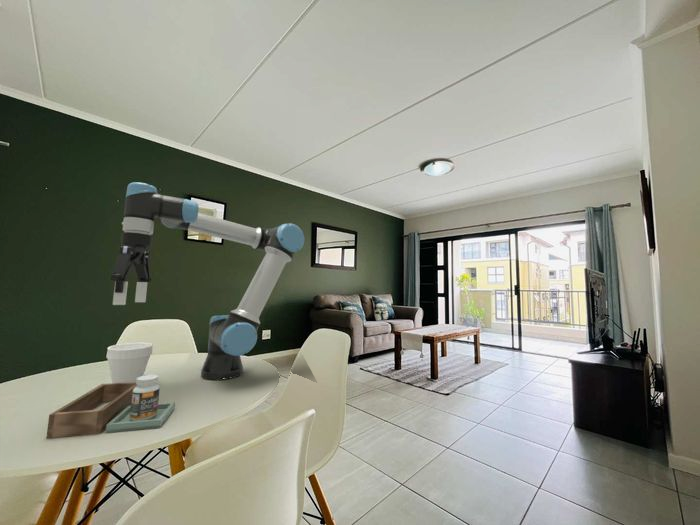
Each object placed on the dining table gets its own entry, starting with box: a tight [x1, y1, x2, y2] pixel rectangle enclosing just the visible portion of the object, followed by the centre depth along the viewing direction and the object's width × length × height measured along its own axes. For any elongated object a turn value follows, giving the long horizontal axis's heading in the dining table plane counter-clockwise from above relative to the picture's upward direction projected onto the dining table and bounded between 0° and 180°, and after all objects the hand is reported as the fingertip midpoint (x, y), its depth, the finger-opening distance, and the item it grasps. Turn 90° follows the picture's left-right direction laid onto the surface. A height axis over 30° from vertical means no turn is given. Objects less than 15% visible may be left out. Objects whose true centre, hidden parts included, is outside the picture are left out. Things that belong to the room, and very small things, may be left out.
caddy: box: [45, 382, 137, 439], centre depth 74 cm, size 10×21×5 cm, turn 16°
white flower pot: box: [105, 342, 154, 383], centre depth 95 cm, size 12×12×14 cm
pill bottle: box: [130, 374, 161, 421], centre depth 73 cm, size 6×6×10 cm
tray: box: [105, 402, 176, 434], centre depth 72 cm, size 11×11×2 cm
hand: (130, 303), depth 84 cm, fingers open, 13 cm apart
